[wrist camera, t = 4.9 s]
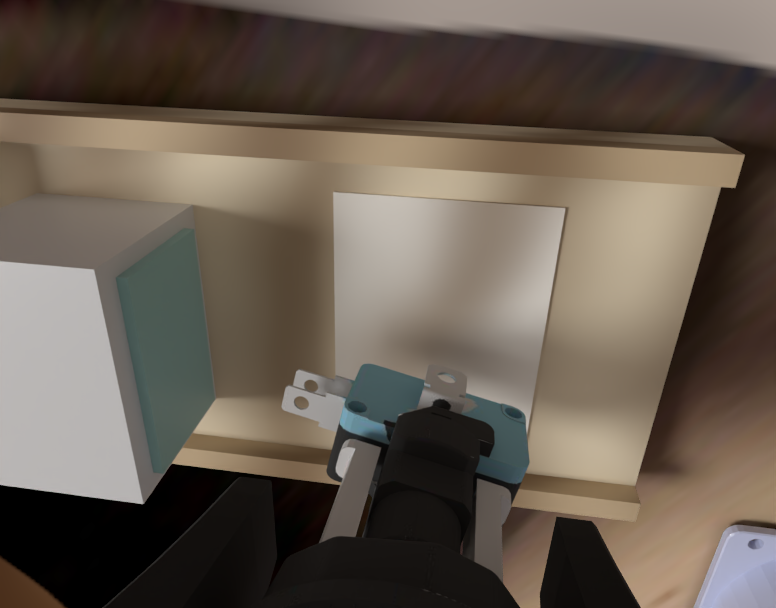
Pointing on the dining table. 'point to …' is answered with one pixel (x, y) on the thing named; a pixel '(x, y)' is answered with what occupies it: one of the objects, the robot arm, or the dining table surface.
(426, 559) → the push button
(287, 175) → the beige tray
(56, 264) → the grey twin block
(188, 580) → the robot arm
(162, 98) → the dining table surface
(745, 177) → the dining table surface
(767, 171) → the dining table surface
